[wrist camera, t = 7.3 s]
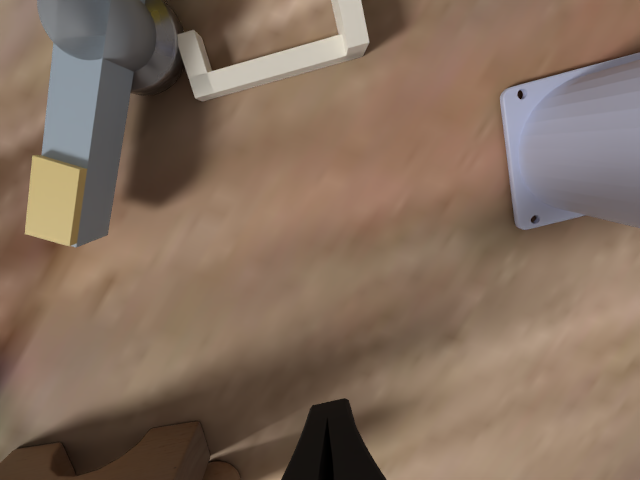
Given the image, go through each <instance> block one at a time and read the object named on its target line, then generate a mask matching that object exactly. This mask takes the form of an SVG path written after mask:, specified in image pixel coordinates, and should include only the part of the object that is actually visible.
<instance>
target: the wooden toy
mask: <svg viewBox="0 0 640 480" xmlns="http://www.w3.org/2000/svg"><path fill="white" fill-rule="evenodd" d="M209 459H210V452H209V449H208V446H207V443H206V440H205V436H204V433H203V430H202V427H201V424H200V422H198V421H195V422H189V423H182V424H176V425H169V426H163V427H156V428H152V429H150V430H149V431H148V433H147V434H146V435H145V436H144V437H143V439H142V440H141V441H140V442H139V443H138V444H137V445H136V446H134V447H133V448H132V449H131V450H129V451H128V452H127V453H126V454H124V455H123V456H122V457H120V458H119V459H117V460H115V461H113V462H112V463H110V464H108V465H106V466H104V467H102V468H100V469H99V470H96V471H92V472H89V473H86V474H82V475H79V476H76V474H75V471H74V469H73V467H72V465H71V462H70V460H69V458H68V456H67V453H66V451H65V449H64V447H63V444H62V443H60V442H58V443H52V444H45V445H39V446H32V447H26V448H19V449H15V450H14V451H12V452H11V453H10V454H9V455H8V456H7V457H6V458H5V459H4V460H3V461H2V462H1V463H0V480H240V476H239V473H238V471H237V469H236V468H235V467H234V466H232V465H230V464H229V463H226V462H222V461H214V462H210V463H208V462H209Z"/></svg>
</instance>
